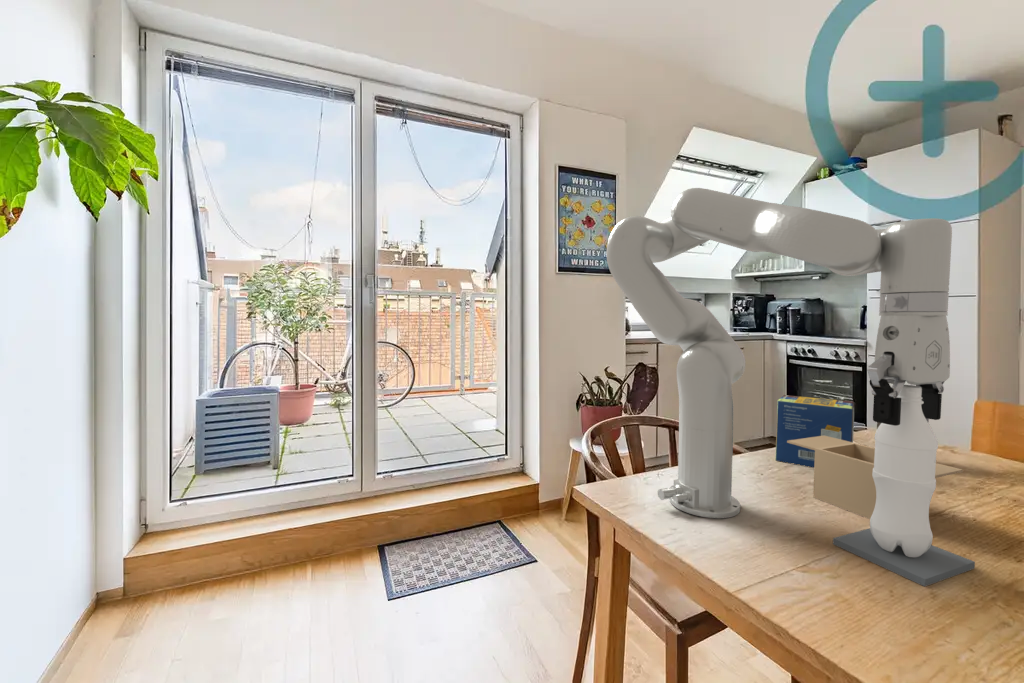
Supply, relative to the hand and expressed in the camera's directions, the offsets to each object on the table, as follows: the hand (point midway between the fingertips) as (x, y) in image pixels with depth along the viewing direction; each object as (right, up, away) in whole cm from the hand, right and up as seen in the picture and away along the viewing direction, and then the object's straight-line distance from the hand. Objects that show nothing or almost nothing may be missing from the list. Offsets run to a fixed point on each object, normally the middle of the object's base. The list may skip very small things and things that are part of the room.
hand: (906, 420), depth 66 cm
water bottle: (0, -20, +1) cm, 20 cm away
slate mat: (0, -21, +1) cm, 21 cm away
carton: (+9, -20, +20) cm, 29 cm away
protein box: (+16, -19, +45) cm, 51 cm away
